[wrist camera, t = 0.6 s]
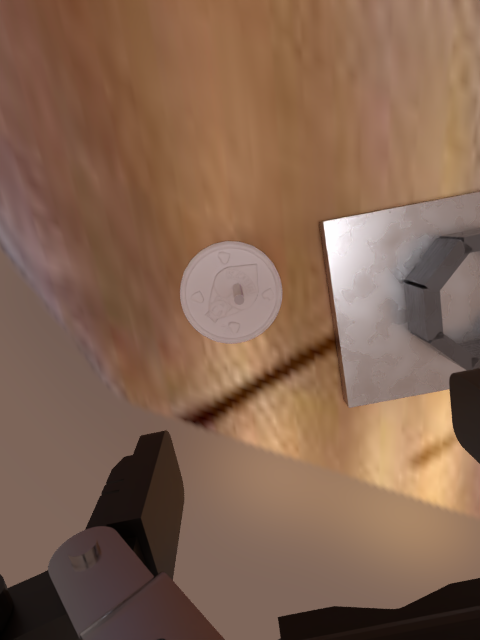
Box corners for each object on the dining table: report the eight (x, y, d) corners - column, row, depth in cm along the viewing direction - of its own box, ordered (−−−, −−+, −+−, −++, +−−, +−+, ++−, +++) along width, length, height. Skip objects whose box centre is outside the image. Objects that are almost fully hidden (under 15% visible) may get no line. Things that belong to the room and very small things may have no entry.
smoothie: (283, 271, 35) (320, 300, 21) (234, 328, 36) (239, 391, 22) (224, 220, 34) (223, 217, 20) (175, 280, 35) (143, 316, 21)
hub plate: (319, 221, 34) (334, 221, 29) (585, 171, 34) (645, 161, 29) (344, 400, 38) (361, 426, 33) (585, 355, 38) (639, 375, 33)
